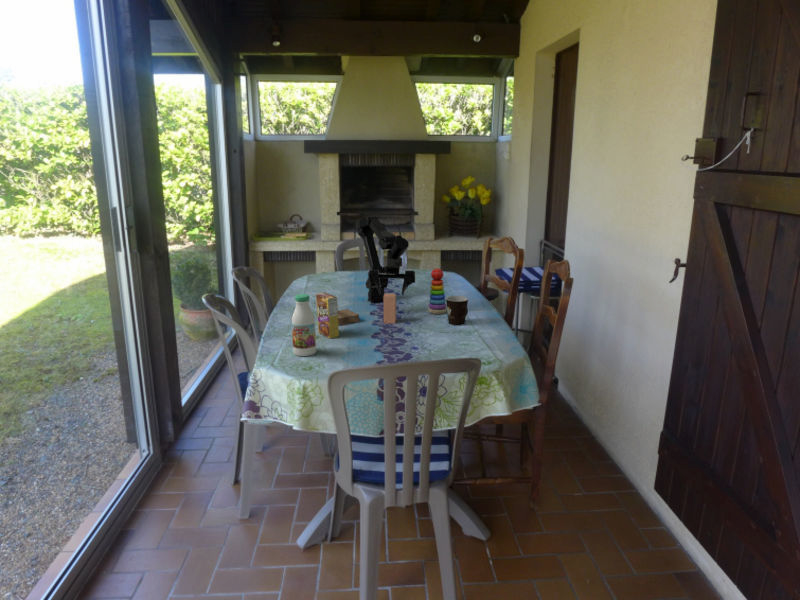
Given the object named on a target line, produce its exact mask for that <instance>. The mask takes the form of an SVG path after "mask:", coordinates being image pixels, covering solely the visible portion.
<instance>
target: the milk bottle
mask: <svg viewBox="0 0 800 600" xmlns="http://www.w3.org/2000/svg"><path fill="white" fill-rule="evenodd" d="M294 300H295V309H294V311H293V314H292V317H291V333H292V337H291V338H292V351H293V354H294V355H295V356H298V357H309V356H313V355H315V354H316V352H317V337H316V336H317V334H316V319H315V315H314V313H313V311H312V309H311V307H310V295H309V294H307V293H301V294H300V293H299V294H296V295H295V296H294Z"/></svg>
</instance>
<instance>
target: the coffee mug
mask: <svg viewBox="0 0 800 600" xmlns="http://www.w3.org/2000/svg"><path fill="white" fill-rule="evenodd" d="M445 299H446V302H445V303H446V308H447V311H446V313H447V322H448V324H449V325H450V324H452V326H457V325H458V326H462V325H461V324H464V323H466V319H467V315H468V312H469V311H468V309H469V308H468V303H469V298H468V297H467V296H461V295H451V296H447V297H445ZM464 325H465V324H464Z"/></svg>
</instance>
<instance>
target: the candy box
mask: <svg viewBox="0 0 800 600" xmlns="http://www.w3.org/2000/svg"><path fill="white" fill-rule="evenodd" d="M315 297H316V299H315V300H316V301H315V302H316V311H317V312H316V313H317V315H316V316H317V327H318V328H317V331H318V333H319V334H320V335H322V336H325V338H328V339H336V338H338V337H340V336H339V335H340V334H339V332H340V330H339V329H340V328H339V326H338V311H339V306H338V297H337V296H334V295H333V294H330V293H327V292H319V293H316V294H315Z"/></svg>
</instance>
